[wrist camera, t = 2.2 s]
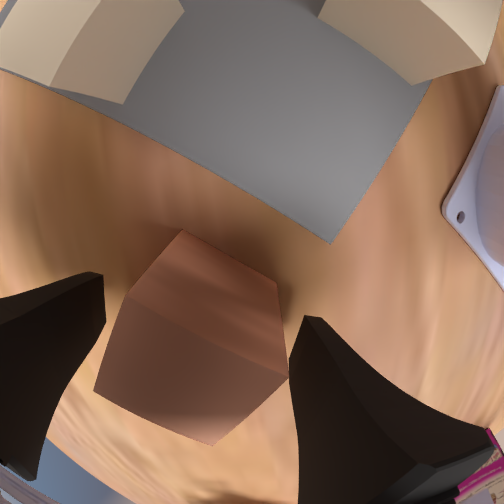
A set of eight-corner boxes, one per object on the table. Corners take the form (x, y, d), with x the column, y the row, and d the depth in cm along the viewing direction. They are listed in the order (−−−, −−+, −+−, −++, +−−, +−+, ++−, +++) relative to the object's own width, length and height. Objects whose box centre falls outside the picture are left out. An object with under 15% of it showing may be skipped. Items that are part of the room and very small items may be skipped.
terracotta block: (276, 282, 11) (289, 376, 6) (225, 350, 12) (212, 445, 7) (182, 228, 10) (125, 294, 5) (144, 307, 11) (93, 391, 6)
